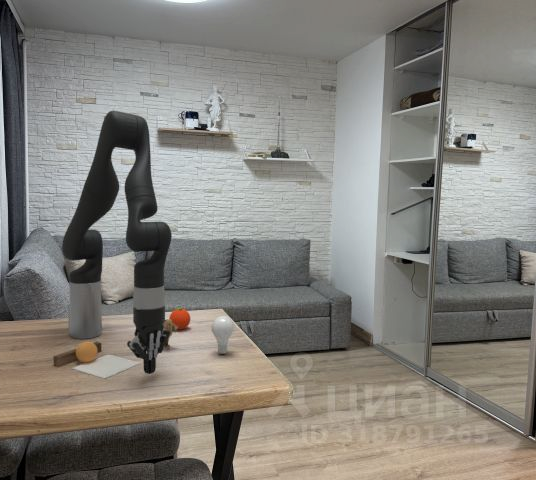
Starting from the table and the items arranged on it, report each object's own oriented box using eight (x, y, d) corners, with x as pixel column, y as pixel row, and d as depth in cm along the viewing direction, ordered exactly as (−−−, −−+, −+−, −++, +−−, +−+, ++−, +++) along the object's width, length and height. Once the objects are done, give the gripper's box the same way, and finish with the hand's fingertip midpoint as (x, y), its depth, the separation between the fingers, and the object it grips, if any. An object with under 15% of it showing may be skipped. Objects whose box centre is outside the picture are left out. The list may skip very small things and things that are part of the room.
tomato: (164, 327, 159) (164, 306, 159) (183, 324, 164) (183, 304, 163) (174, 333, 153) (174, 312, 152) (194, 330, 157) (194, 309, 156)
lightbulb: (237, 352, 137) (238, 315, 136) (226, 359, 131) (227, 320, 130) (218, 348, 139) (219, 312, 138) (207, 355, 134) (207, 317, 132)
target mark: (72, 368, 122) (72, 368, 122) (108, 355, 132) (108, 354, 132) (104, 378, 116) (104, 378, 116) (140, 363, 126) (140, 363, 126)
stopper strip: (53, 365, 124) (53, 356, 124) (96, 350, 136) (96, 341, 136) (58, 366, 123) (58, 357, 123) (101, 351, 135) (101, 342, 135)
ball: (88, 354, 122) (81, 369, 124) (104, 347, 127) (97, 362, 129) (75, 340, 124) (68, 356, 126) (91, 334, 129) (84, 349, 131)
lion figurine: (179, 349, 138) (179, 319, 137) (162, 353, 135) (162, 322, 134) (160, 336, 150) (160, 308, 149) (143, 339, 147) (143, 310, 146)
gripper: (156, 296, 122) (156, 361, 124) (117, 307, 111) (118, 378, 113) (179, 300, 119) (179, 367, 121) (140, 312, 107) (141, 385, 109)
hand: (149, 372), depth 117 cm, fingers closed
